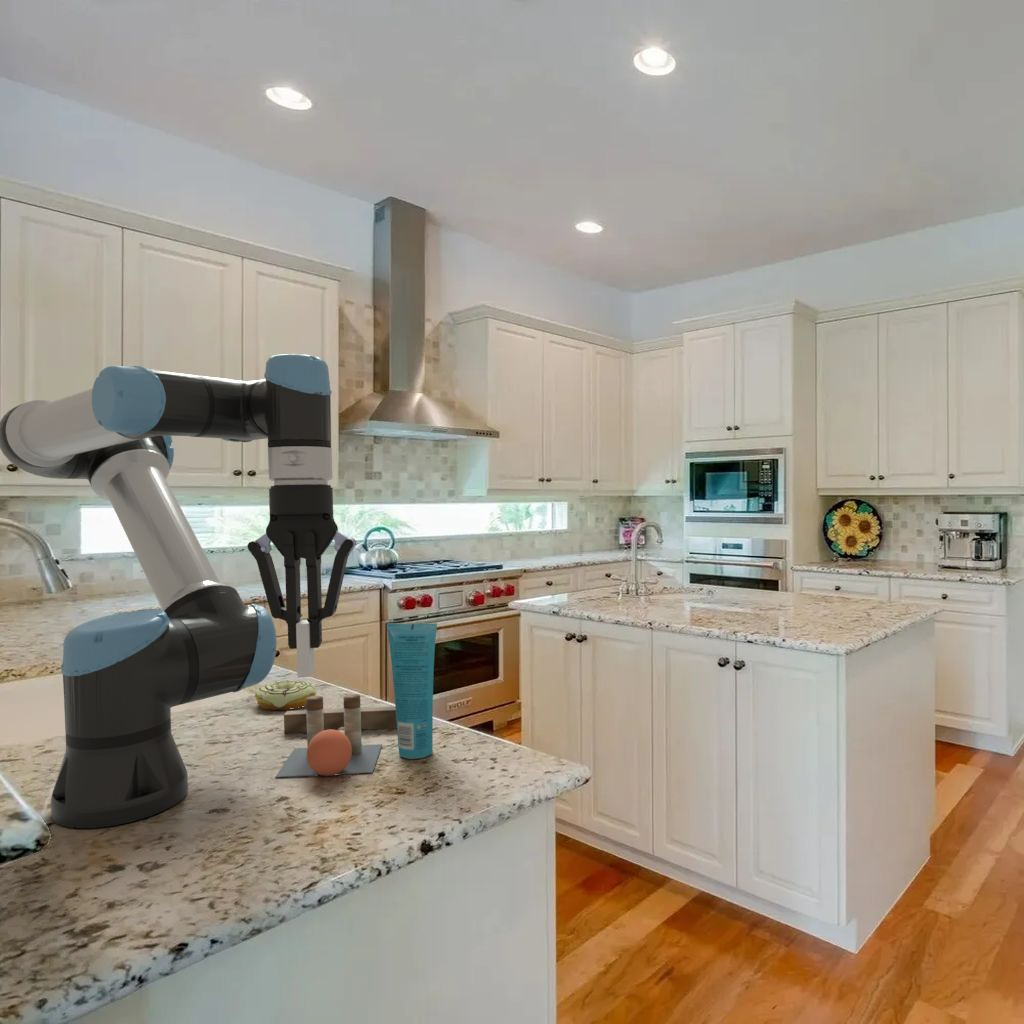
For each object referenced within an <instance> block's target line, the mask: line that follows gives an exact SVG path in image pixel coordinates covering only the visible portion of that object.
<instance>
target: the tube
mask: <svg viewBox="0 0 1024 1024" xmlns="http://www.w3.org/2000/svg"><path fill="white" fill-rule="evenodd" d="M437 628H438V623H437V622H435V623H434V622H433V623H432V622H431V623H430V622H429V623H403V622H402V623H400V622H399V623H398V622H396V623H395V622H393V623H392V622H390V623H389V622H388V623H386V630H387V635H388V636H387V637H388V643H389V651H390V652H389V653H390V659H391V667H392V668H391V669H392V670H391V672H392V682H393V693H394V695H393V696H394V707H395V708H396V721H397V728H396V730H397V732H396V733H397V744H398V745H397V747H398V755H399V756H400V757H401V758H404V759H408V760H414V759H415V760H416V759H423V758H426V757H428V756H430V755H432V754H433V751H434V750H433V747H434V745H433V743H434V742H433V727H434V725H433V722H434V721H433V720H434V718H433V716H434V715H433V712H434V711H433V710H434V709H433V708H434V707H433V706H434V703H433V702H434V701H433V700H434V669H435V668H434V667H435V649H436V639H437V630H438V629H437Z"/></svg>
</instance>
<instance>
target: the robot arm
mask: <svg viewBox="0 0 1024 1024" xmlns="http://www.w3.org/2000/svg"><path fill="white" fill-rule="evenodd" d="M331 395H332V390H331V381H330V372H329V366H328V363H327V362H326V361H325V360H324V359H322V358H321V357H318V356H314V355H309V354H302V353H301V354H300V353H283V354H276V355H272V356H270V357H269V358H268V360H267V361H266V363H265V373H264V378H263V379H258V380H248V381H247V380H246V381H245V380H237V379H236V380H235V379H230V378H221V377H212V376H204V375H197V374H196V375H195V374H188V373H187V374H186V373H181V372H174V371H165V370H158V369H150V368H147V367H144V366H139V365H137V366H136V365H132V366H123V365H121V366H120V365H109V366H106V367H104V368H103V369H101V371H100V372H99V374H98V376H97V377H96V378H95V380H94V382H93V386H92V388H89V389H87V390H83V391H81V392H78V393H74V394H71V395H69V396H68V395H67V396H65V397H62V398H60V399H57V400H54V401H52V400H51V401H50V400H45V399H36V400H31V401H26V402H24V403H22V404H19V405H16V406H14V407H13V408H11V409H9V410H8V411H7V413H5V414H4V415H3V417H2V418H1V419H0V450H1V452H2V454H3V456H5V458H6V459H7V460H8V461H9V462H10V463H11V464H12V465H14V466H16V467H17V468H18V469H20V470H22V471H24V472H26V473H29V474H31V475H34V476H37V477H42V478H46V479H47V478H49V479H59V480H61V479H62V480H64V479H65V480H67V479H68V480H87V481H88V483H89V485H90V486H91V489H92V490H93V492H94V493H95V495H96V496H98V497H99V498H100V499H103V500H105V501H109V502H110V503H111V505H112V508H113V510H114V512H115V514H116V515H117V519H118V520H119V522H120V524H121V525H120V526H122V529H123V531H124V532H125V536H126V538H127V539H128V541H129V543H130V545H131V547H132V549H133V551H134V554H135V556H136V559H137V560H138V563H139V565H140V567H141V568H142V571H143V572H144V575H145V577H146V579H147V581H148V583H149V586H150V588H151V590H152V593H153V594H154V596H155V598H156V600H157V602H158V604H159V606H160V609H156V608H151V609H150V608H148V609H147V608H146V609H138V610H137V609H136V610H132V611H130V612H129V611H124V612H118V613H113V614H109V615H106V616H101V617H98V618H96V619H91V620H89V621H86V622H83V623H81V624H79V625H77V626H75V627H74V628H73V629H71V630H70V631H69V632H68V633H67V634H66V636H65V637H64V640H63V644H62V645H63V647H62V663H61V666H60V671H61V674H62V682H63V683H62V684H63V704H64V705H63V706H64V730H65V752H64V756H63V759H62V761H61V765H60V768H59V771H58V775H57V777H56V779H55V780H56V781H55V783H54V787H53V790H52V793H51V796H50V797H51V798H50V813H51V814H50V818H51V820H52V821H53V822H54V823H55V824H56V825H59V826H61V827H62V826H63V827H65V826H67V827H66V828H71V829H72V828H74V827H76V828H75V829H94V828H95V829H96V828H106V827H111V826H117V825H122V824H128V823H131V822H135V821H136V822H137V821H139V820H143V819H145V818H149V817H151V816H155V815H157V814H160V813H161V812H163V811H166V810H167V809H170V808H171V807H173V806H175V805H176V804H178V803H179V802H181V801H182V800H183V799H184V798H185V797H186V796H187V794H188V792H189V777H188V770H187V768H186V765H185V763H184V760H183V758H182V756H181V753H180V750H179V749H178V746H177V743H176V741H175V739H174V736H173V734H172V733H173V732H172V720H171V719H172V718H171V717H172V711H171V710H172V709H171V708H173V707H176V706H180V705H185V704H189V703H193V702H197V701H200V700H205V699H209V698H214V697H217V696H221V695H226V694H229V693H239V692H240V691H242V690H243V689H246V688H251V687H252V686H256V685H258V684H260V683H261V682H263V681H264V680H265V678H267V676H268V675H269V674H270V672H271V670H272V668H273V666H274V663H275V660H276V656H277V655H276V653H277V645H278V644H277V643H278V641H277V639H278V638H277V630H276V626H275V622H274V620H273V618H274V619H279V620H282V621H285V622H286V624H287V645H288V647H289V649H290V650H292V649H295V650H296V665H297V666H296V669H297V672H296V675H297V678H309V677H310V678H311V676H312V675H313V674H314V673H315V649H318V648H319V647H321V645H322V642H323V627H322V625H323V624H322V623H323V622H322V621H323V620H324V619H326V618H330V617H331V616H333V615H334V614H335V613H336V611H337V610H338V609H337V608H338V605H339V599H340V595H341V592H342V591H341V590H342V586H343V581H344V577H345V572H346V567H347V563H348V558H349V557H350V555H351V553H352V551H353V550H354V548H355V547H356V544H357V541H356V539H354V538H353V537H348V536H346V535H345V534H343V533H342V532H340V531H339V527H338V524H337V523H336V521H335V517H334V491H333V487H332V485H330V484H329V483H328V481H331V480H332V479H333V455H332V454H333V453H332V449H333V448H332V415H331V414H332V413H331V412H332V411H331V409H332V408H331V406H332V405H331V404H332V403H331V397H332V396H331ZM172 437H192V438H207V439H221V440H224V441H227V442H237V443H239V442H240V443H241V442H242V443H249V442H253V441H257V440H266V439H267V461H268V462H267V463H268V479H269V481H271V482H273V485H271V486H270V488H268V499H269V500H268V502H269V503H268V504H269V522H268V524H267V526H266V527H265V528H266V529H265V533H264V534H263V535H262V536H260V537H258V539H256V540H252V541H249V542H248V543H247V550H248V551H249V553H250V554H251V555H252V556H253V558H254V559H255V561H256V564H257V568H258V571H259V576H260V578H261V582H262V586H263V589H264V593H265V595H266V600H267V604H268V607H269V611H270V612H269V611H268V610H267V608H265V607H264V606H262V605H258V604H255V603H250V604H248V605H246V604H245V603H244V601H243V599H242V597H241V596H240V594H239V592H238V590H237V589H236V587H234V586H233V585H230V584H227V583H221V582H220V580H219V578H218V576H217V574H216V572H215V571H214V568H213V567H212V565H211V563H210V561H209V559H208V557H207V555H206V553H205V551H204V549H203V548H202V546H201V544H200V542H199V540H198V538H197V536H196V534H195V533H194V530H193V528H192V526H191V525H190V523H189V521H188V519H187V517H186V515H185V513H184V512H183V509H182V508H181V506H180V503H179V501H178V500H177V497H176V496H175V494H174V493H173V490H172V489H171V487H170V485H169V483H168V481H167V478H168V476H169V475H170V470H171V468H172V466H173V462H174V458H175V448H174V446H172V443H173V438H172ZM333 540H334V541H333ZM332 542H334V545H333V549H334V550H335V552H336V554H335V556H334V559H333V564H332V569H331V573H330V578H329V581H328V582H329V583H328V587H327V592H326V595H325V596H326V597H325V601H324V606H323V602H322V600H323V599H322V597H323V596H322V556H323V555H324V553H325V552H326V551H327V549H328V548H329V546H330V545H331V543H332ZM271 543H272V545H273V546H274V547H275V548H276V549H277V551H278V552H279V553H280V555H281V556H282V557H283V566H284V571H285V576H284V577H285V600H284V597H283V594H282V589H281V585H280V581H279V579H278V574H277V572H276V571H277V570H276V568H275V564H274V560H273V557H272V555H271V551H272V545H271ZM302 559H305V567H306V581H307V582H306V583H307V584H306V587H307V589H306V590H307V618H306V619H301V618H302V617H303V614H302V602H301V599H302V598H301V597H302V596H301V593H302V591H301V563H302ZM285 601H286V602H285Z"/></svg>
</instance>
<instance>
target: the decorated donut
mask: <svg viewBox="0 0 1024 1024" xmlns="http://www.w3.org/2000/svg"><path fill="white" fill-rule="evenodd" d="M311 696H317V689H316V687H315V685H314V684H312V683H310V682H308V681H303V680H295V679H293V680H291V679H289V680H288V679H287V680H277V681H273V682H271V683H268V684H264V685H261V686H259V687H258V688H257V689H256V690H255V694H254V697H255V700H256V702H257V704H258V706H259V707H260V708H261V709H263V708H266V709H265V710H267V709H290V708H298V707H302V706H306V698H308V697H311ZM302 708H303V707H302ZM298 709H299V708H298Z"/></svg>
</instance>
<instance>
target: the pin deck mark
mask: <svg viewBox="0 0 1024 1024" xmlns="http://www.w3.org/2000/svg"><path fill="white" fill-rule="evenodd" d="M382 745H383V744H382V743H381V744H380V743H379V744H362V752H361V753H360V754H358V755H351V759H350V761H349V763H348V765H347V766H346V767H345V768H344V769H343V770H342V771H341V772H339V773H337V774H349V775H360V774H359V773H370V774H373V773H374V771H373V770H375V768H374V767H376V765H375V764H377V761H378V758H379V755H380V753H381V749H382ZM355 773H356V774H355ZM316 775H317V776H316ZM318 775H320V774H318V773H316V772H315V771H314V770H313V769H312V768H311V767H310V766H309V764H308V761H307V747H295V748H294V749H293V750H292V752H291V753H290V755H289V756H288V757H287V759H286V760H285V762H284V763H283V764H282V766H281V768H280V769H279V771H278V772H277V774H276V775H275V777H288V778H296V777H295V776H308V777H319V776H318Z"/></svg>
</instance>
